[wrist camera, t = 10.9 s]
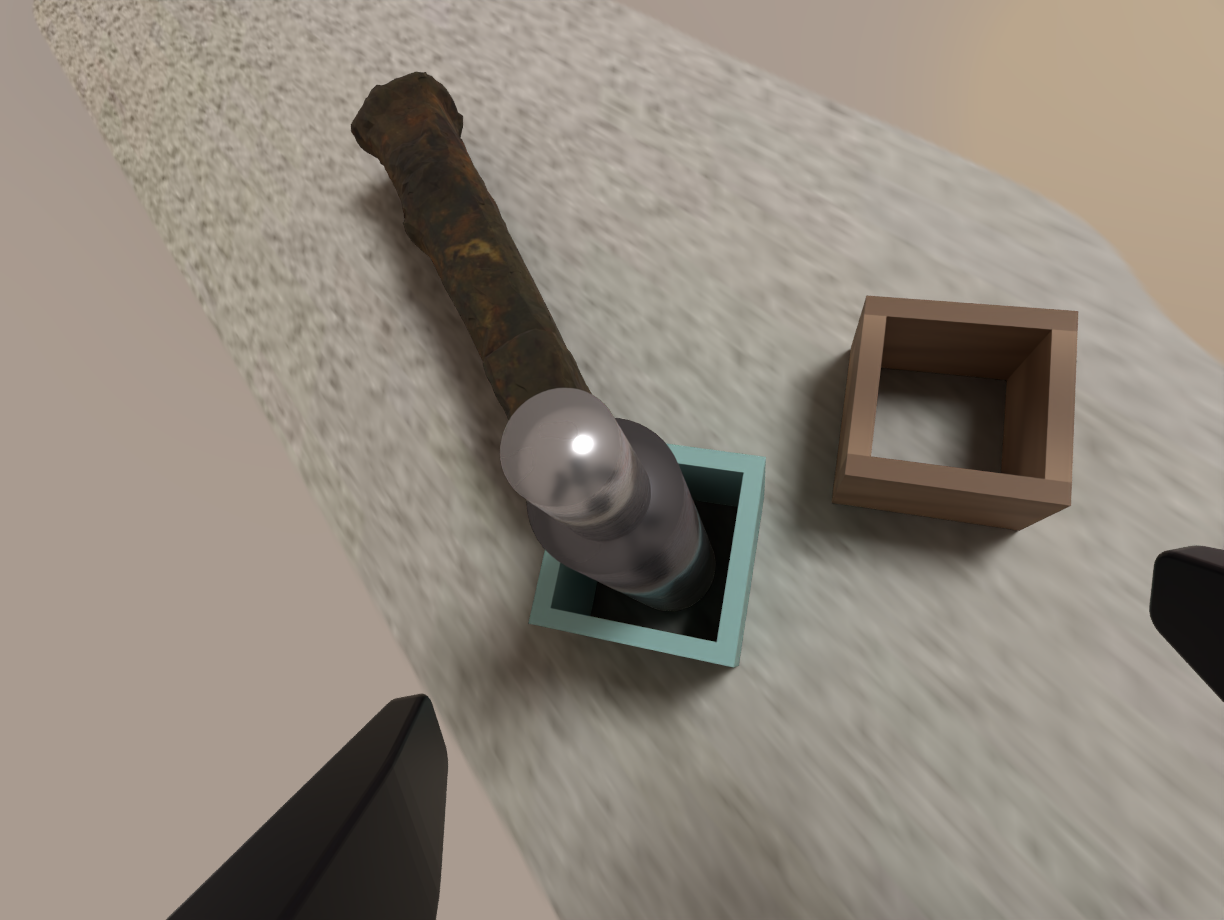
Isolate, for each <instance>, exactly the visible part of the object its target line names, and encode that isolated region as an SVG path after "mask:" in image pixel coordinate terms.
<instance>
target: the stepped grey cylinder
mask: <svg viewBox="0 0 1224 920" xmlns="http://www.w3.org/2000/svg"><path fill="white" fill-rule="evenodd" d="M500 461H501V466H502V469H503V472H504V475H505V477H506V479H507V481H508V482H509V484H510V485H511V486H512V488H513V489H514V490H515V491H516V492H517V493H518V494H520V495H521V496H522V497H524V498H525V499H526V500H527V512H528V517H529V521H530V524H531V527H532V530H533V532H534V534H535V536H536V538H537V539H538V541H539V542H540V544H541V545H542V547H543V548H544V549H545V550H546V551H547V552H548V553H549V554H550V555H551V556H552V557H553V558H555V559H556V560H557V561H559V562H560V563H562V564H564V565H565V566H567V567H569V568H571V569H573V570H575V571H577V572H579V573H581V574H583V575H586V576H588V577H590V578H592V579H594V580H596V581H598V582H600V583H602V584H604V585H606V586H608V587H610V588H612V589H614V590H616V591H619V592H621V593H623V594H625V595H627V596H629V597H631V598H633V599H635V600H637V601H639V602H641V603H643V604H645V605H647V606H649V607H652V608H654V609H657V610H662V611H678V610H682V609H685V608H688V607H690V606H692V605H694V604H695V603H697V602H698V601H699V600H700V599H701V598H702V597H703V596H704V595H705V594H706V593H707V591H708V590H709V588H710V586H711V584H712V582H713V579H714V575H715V568H716V561H715V555H714V551H713V548H712V546H711V543H710V541H709V538H708V536H707V533H706V531H705V528H704V526H703V523H702V521H701V518H700V516H699V514H698V511H697V509H696V506H695V504H694V501H693V499H692V496H691V494H690V491H689V489H688V486H687V484H686V482H685V479H684V477H683V474H682V472H681V469H680V467H679V464H678V462H677V460H676V458H675V456H674V454H673V453H672V451H671V449H670V448H669V447H668V445H667V444H666V443H665V442H664V441H663V440H662V439H661V438H660V437H659V436H658V435H657V434H656V433H654V432H653V431H651V430H650V429H648V428H647V427H645V426H643V425H641V424H639V423H636V422H633V421H630V420H625V419H620V418H614V416H613V415H612V413H611V411H610V410H609V409H608V407H607V406H606V405H605V404H604V403H603V402H602V401H601V400H600V399H598V398H597V397H595V396H594V395H592V394H590V393H588V392H585V391H582V390H579V389H574V388H556V389H551V390H547V391H544V392H542V393H539V394H537V395H535V396H533V397H532V398H530V399H528V400H527V401H526V402H525V403H523V404H522V405H521V406H520V407H519V408H518V409H517V410H516V411H515V413H514V414H513V415H512V416H511V418H510V420H509V421H508V423H507V425H506V427H505V429H504V432H503V435H502V439H501V444H500Z"/></svg>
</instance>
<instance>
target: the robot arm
mask: <svg viewBox="0 0 1224 920" xmlns="http://www.w3.org/2000/svg"><path fill="white" fill-rule="evenodd" d="M1149 612H1150V617H1151V620H1152V622H1153V624H1154V626H1155V628H1156V629H1157V630H1158V632H1159V633H1160V634H1161V635H1162V636H1163V637H1164V638H1165V639H1166V641H1167V642H1168V643H1169V644H1170V645H1171V646H1172V647H1173V648H1174V649H1175V650H1176V651H1177V652H1178V653H1179V655H1180V656H1181V657H1182V658H1183V659H1184V660H1185V661H1186V662H1187V663H1188V664H1189V665H1190V666H1191V668H1192V669H1193V670H1194V671H1195V672H1196V673H1197V674H1198V675H1199V676H1200V677H1201V678H1202V679H1203V681H1204V682H1205V683H1206V684H1207V685H1208V686H1209V687H1210V688H1211V689H1212V690H1213V691H1214V692H1215V694H1216V695H1217V696H1218V697H1219V698H1220V699H1221V700H1222V701H1223V702H1224V550H1221V549H1216V548H1211V547H1205V546H1188V547H1183V548H1178V549H1173V550H1168V551H1164V552H1162V553H1161V554H1159V555H1158V557H1157V558H1156V560H1155V563H1154V570H1153V579H1152V588H1151V597H1150V606H1149ZM447 774H448V757H447V750H446V746H445V742H444V739H443V736H442V733H441V730H440V727H439V724H438V720H437V718H436V714H435V711H434V708H433V705H432V702H431V700H430V699H429V697H428V696H427V695H425V694H417V695H412V696H407V697H401V698H396V699H393V700H391V701H390V702H389V703H388V704H387V705H386V706H385V707H384V708H383V709H382V710H381V711H380V712H379V713H378V714H377V715H375V716H374V717H373V718H372V719H371V720H370V721H369V722H368V723H367V724H366V725H365V726H364V727H363V728H362V729H361V730H360V731H359V732H358V733H357V734H356V735H355V736H354V737H353V738H352V739H351V740H350V741H349V742H348V743H347V744H346V745H345V746H344V747H343V748H342V749H341V750H340V751H339V752H338V753H337V754H335V755H334V756H333V757H332V758H331V759H330V760H329V761H328V762H327V763H326V764H325V765H324V766H323V767H322V768H321V769H320V770H319V771H318V772H317V773H316V774H315V775H314V776H313V777H312V778H311V779H310V780H309V781H308V782H307V783H306V784H305V785H304V786H303V787H302V788H301V789H300V790H299V791H298V792H297V793H296V794H295V795H294V796H292V797H291V798H290V799H289V800H288V801H287V802H286V803H285V804H284V805H283V806H282V807H281V808H280V809H279V810H278V811H277V812H276V813H275V814H274V815H273V816H272V817H271V818H270V819H269V820H268V821H267V822H266V823H265V824H264V825H263V826H262V827H261V828H260V829H259V830H258V831H257V832H255V833H254V835H252V836H251V837H250V838H249V839H248V840H247V841H246V842H245V843H244V844H243V845H242V846H241V847H240V848H239V849H238V850H237V851H236V852H235V853H234V854H233V855H232V856H231V857H230V858H229V859H228V860H227V861H226V862H225V863H224V864H223V865H222V866H221V867H220V868H219V869H218V870H216V871H215V872H214V873H213V874H212V875H211V877H209V878H208V879H207V880H206V881H205V882H204V883H203V884H202V885H201V886H200V887H199V888H198V889H197V890H196V891H195V892H194V893H193V894H192V895H191V896H190V897H189V898H188V899H187V900H186V901H185V902H184V903H183V904H182V905H181V906H180V907H178V908H177V909H176V910H175V911H174V912H173V913H172V914H171V915H170V916H169V917H168V918H167V919H166V920H436V914H437V908H438V901H439V893H440V882H441V869H442V868H441V867H442V852H443V837H444V822H445V806H446V791H447V776H448V775H447Z"/></svg>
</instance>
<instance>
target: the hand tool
mask: <svg viewBox="0 0 1224 920" xmlns="http://www.w3.org/2000/svg"><path fill="white" fill-rule="evenodd" d="M462 128H463V116H462V115H461V114H460V113H458V111H457V108H456V106H455V103H454V101H453V99H452V97H451V96H450V94H449V92H448V91H447V89H446V88H445V87H444V86H443V85H442V84H441V83H439V82H438V81H436V80H435V79H434V78H433V77H432V76H430V75H427V74H426V72H424V73H422V72H414V73H411V74H408V75H405V76H403V77H400V78H396V79H394V80H392V81H390V82H389V83H387V84H385V85H376V86H375V87H374V88H373V89H372V90H371V92H370V94H369V96H368V97H367V98H366V99H365V101H364V104H363V106H362V107H361V109H360V110H359V112H358V114H357V115H356V117H355V119H354V120H353V122H352V124H351V132H352V134H353V135H354V136H355V139H356V141H357V143H358V144H359V146H360V147H361V148H362V149H363V150H364V151H365V152H367V153H369V154H371V155H373V156H374V157H376V158H378V159H379V161H380V163H381V164H382V165H383V166H384V167H385V170H386V171H387V173H388V175H389V178H390V179H391V181H392V182H393V185H394V187H395V188H396V190H397V192H398V195H399V197H400V199H401V202H402V208H403V212H404V218H405V221H404V223H403V224H404V227H405V231H406V233H407V235H408V236H409V238H410V239H411V241H412V242H413V243H414V244H415V245H416V246H418V247H419V248H420V249H421V250H422V251H423V252H424V253H425V254H426V255H428V256H429V257H430V258H431V260H432V262H433V264H434V265H435V267H436V270H437V272H438V274H439V276H440V278H441V281H442V283H443V285H444V287H445V289H446V291H447V292H448V294H449V296H450V297H451V299H452V301H453V303H454V305H455V307H456V308H457V310H458V312H459V314H460V316H461V317H462V319H463V321H464V323H465V325H466V327H467V329H468V331H469V333H470V335H471V337H472V339H473V341H474V344H475V346H476V348H477V350H478V352H479V354H480V356H481V358H482V360H483V367H484V370H485V373H486V376H487V378H488V380H489V381H490V383H491V385H492V387H493V390H494V393H495V395H496V397H497V399H498V401H499V403H500V404H501V406H502V407H503V409H504V410H505V412H506V414H507V417H508V420H510V418H511V416H512V415H513V414H514V413H515V411H516V410H517V409H518V408H519V407H520V406H521V405H522V404H523V403H525V402H526V401H527V400H528V399H530V398H532V397H533V396H535V395H537V394H539V393H542V392H544V391H547V390H551V389H556V388H574V389H579V390H582V391H585V392H588V393H590V394H592V393H591V392H590V390H589V388H588V386H587V385H586V383H585V381H584V379H583V377H582V375H581V373H580V371H579V369H578V366H577V364H576V362H575V360H574V358H573V356H572V354H571V352H570V351H569V350H568V349H567V347H566V345H565V343H564V341H563V339H562V337H561V335H560V332H559V330H558V328H557V326H556V324H555V322H554V320H553V318H552V316H551V314H550V312H549V310H548V308H547V306H546V304H545V302H544V300H543V298H542V296H541V294H540V292H539V290H538V288H537V286H536V284H535V282H534V280H533V278H532V276H531V275H530V273H529V271H528V269H527V267H526V265H525V263H524V261H523V259H522V257H521V255H520V253H519V251H518V249H517V247H516V245H515V243H514V241H513V239H512V238H511V236H510V234H509V232H508V230H507V227H506V224H505V222H504V220H503V219H502V217H501V214H500V212H499V209H498V206H497V204H496V202H495V201H494V199H493V198H492V196H491V195H490V194H489V192H488V191H487V189H486V186H485V183H484V181H483V180H482V178H481V177H480V175H479V174H478V172H477V170H476V169H475V167H474V165H473V163H472V161H471V158H470V156H469V154H468V152H467V150H466V147H465V145H464V143H463V141H462V139H461V138H460V137H461V132H462Z"/></svg>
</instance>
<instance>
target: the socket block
mask: <svg viewBox="0 0 1224 920" xmlns="http://www.w3.org/2000/svg"><path fill="white" fill-rule="evenodd" d="M1077 330H1078V311H1068V310H1054V309H1041V308H1027V307H1014V306H1000V305H986V304H973V303H959V302H946V301H932V300H919V299H905V298H891V297H878V296H866V300H865V303H864V306H863V309H862V313H861V316H860V319H859V323H858V326H857V329H856V333H855V336H854V339H853V343H852V346H851V351H850V359H849V367H848V375H847V383H846V391H845V399H844V407H843V415H842V423H841V431H840V439H839V447H838V455H837V463H836V471H835V479H834V487H833V495H832V503H836V504H843V505H850V506H857V507H864V508H870V509H877V510H884V511H891V512H897V513H904V514H911V515H918V516H924V517H931V518H938V519H945V520H951V521H958V522H965V523H972V524H979V525H985V526H992V527H999V528H1006V529H1012V530H1019V531H1020V530H1022V529H1024V528H1026V527H1028V526H1030V525H1032V524H1034V523H1036V522H1038V521H1040V520H1042V519H1044V518H1046V517H1048V516H1051V515H1053V514H1055V513H1057V512H1059V511H1061V510H1063V509H1065V508H1067V507H1069V506H1071V489H1072V463H1073V436H1074V410H1075V383H1076V356H1077ZM881 368H890V369H900V370H910V371H920V372H931V373H941V374H951V375H961V376H971V377H981V378H992V379H1002V380H1007V386H1006V402H1005V417H1004V433H1003V449H1002V464H1001V473H994V472H986V471H979V470H971V469H963V468H956V467H948V466H940V465H932V464H925V463H917V462H909V461H902V460H894V459H886V458H878V457H871V450H872V441H873V432H874V424H875V415H876V406H877V397H878V388H879V379H880V370H881Z"/></svg>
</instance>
